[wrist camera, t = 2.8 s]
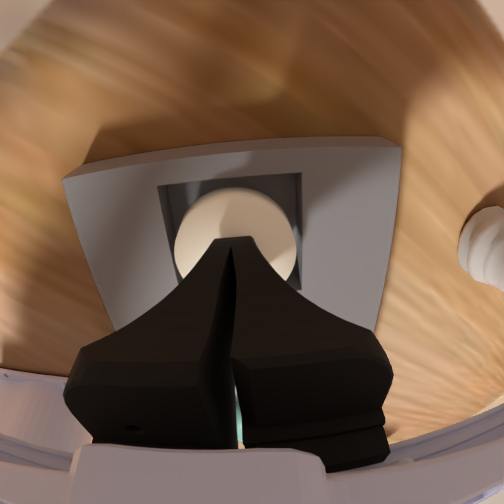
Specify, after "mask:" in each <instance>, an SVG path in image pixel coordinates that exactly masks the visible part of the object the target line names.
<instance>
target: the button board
mask: <svg viewBox="0 0 504 504" xmlns="http://www.w3.org/2000/svg"><path fill="white" fill-rule="evenodd" d="M401 154H402V147H400V146H399V145H397V144H395V143H393V142H391V141H389V140H387V139H385V138H383V137H381V136H314V137H288V138H270V139H255V140H243V141H231V142H221V143H211V144H203V145H194V146H186V147H179V148H171V149H164V150H158V151H151V152H145V153H139V154H133V155H127V156H122V157H116V158H111V159H106V160H101V161H96V162H91V163H87V164H82V165H81V166H79V167H78V168H76V169H75V170H73V171H72V172H71V173H69V174H68V175H67V176H65V177H64V178H62V183H63V187H64V191H65V195H66V198H67V202H68V205H69V209H70V212H71V215H72V219H73V222H74V225H75V228H76V231H77V234H78V237H79V240H80V243H81V246H82V249H83V252H84V255H85V258H86V261H87V263H88V266H89V269H90V272H91V274H92V277H93V279H94V282H95V285H96V287H97V290H98V292H99V295H100V297H101V300H102V302H103V304H104V307H105V309H106V311H107V314H108V316H109V318H110V321H111V323H112V325H113V327H114V330H115V331H117V330H119V329H121V328H122V327H124V326H126V325H128V324H129V323H131V322H132V321H134V320H135V319H137V318H138V317H140V316H141V315H143V314H144V313H145V312H147V311H148V310H149V309H151V308H152V307H153V306H155V305H156V304H157V303H159V302H160V301H161V300H162V299H163V298H165V297H166V296H167V295H168V294H169V293H170V292H171V291H172V290H173V289H174V288H175V287H177V285H178V284H179V283H180V282H181V281H182V280H183V277H182V276H181V274H180V272H179V270H178V268H177V265H176V262H175V256H174V246H175V240H176V237H177V234H178V231H179V228H180V225H181V222H182V219H183V217H184V215H185V213H186V212H187V210H188V209H189V207H190V206H191V205H192V204H193V203H194V202H195V201H196V200H197V199H199V198H200V197H201V196H203V195H205V194H206V193H208V192H211V191H213V190H216V189H219V188H224V187H233V186H239V187H247V188H251V189H255V190H258V191H260V192H262V193H264V194H266V195H268V196H269V197H271V198H272V199H273V200H275V201H276V202H277V203H278V204H279V205H280V207H281V208H282V209H283V210H284V212H285V214H286V215H287V218H288V220H289V223H290V226H291V229H292V232H293V235H294V238H295V242H296V260H295V264H294V267H293V269H292V272H291V273H290V275H289V277H288V278H287V280H286V282H287V283H288V284H289V285H290V286H291V287H292V288H294V289H295V290H296V291H297V292H298V293H300V294H301V295H302V296H304V297H305V298H307V299H308V300H310V301H311V302H313V303H314V304H316V305H317V306H319V307H321V308H322V309H324V310H326V311H328V312H330V313H332V314H334V315H336V316H338V317H340V318H342V319H344V320H346V321H349V322H351V323H354V324H357V325H359V326H362V327H364V328H367V329H369V330H371V331H372V332H373V333H374V329H375V325H376V320H377V316H378V311H379V307H380V302H381V298H382V293H383V288H384V283H385V278H386V272H387V267H388V261H389V255H390V249H391V243H392V236H393V229H394V222H395V215H396V207H397V198H398V189H399V179H400V167H401ZM235 395H236V401H237V400H238V397H237V394H235Z"/></svg>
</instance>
